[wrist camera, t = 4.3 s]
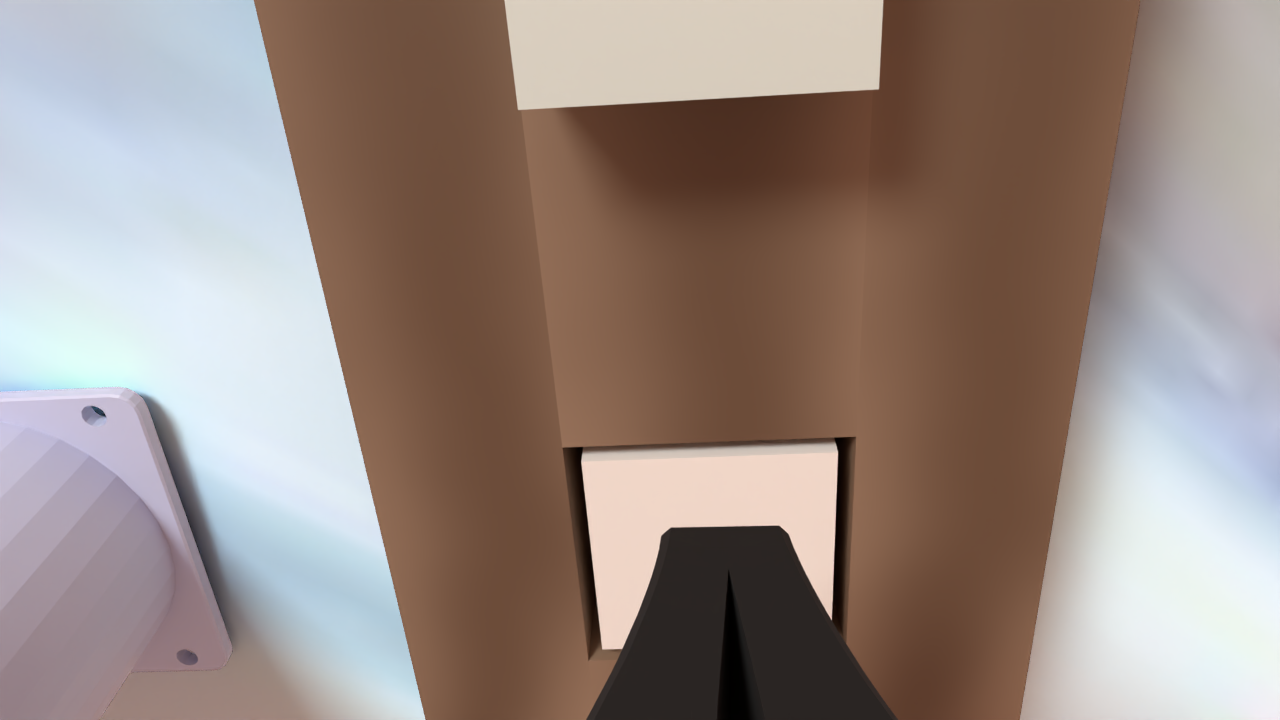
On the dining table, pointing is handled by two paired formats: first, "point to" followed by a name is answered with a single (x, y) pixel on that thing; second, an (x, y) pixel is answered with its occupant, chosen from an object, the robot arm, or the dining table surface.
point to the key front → (689, 49)
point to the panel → (708, 320)
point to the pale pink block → (702, 509)
